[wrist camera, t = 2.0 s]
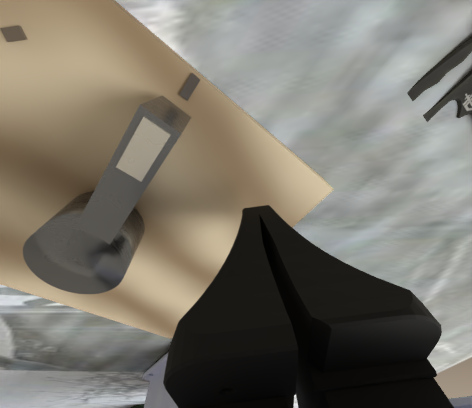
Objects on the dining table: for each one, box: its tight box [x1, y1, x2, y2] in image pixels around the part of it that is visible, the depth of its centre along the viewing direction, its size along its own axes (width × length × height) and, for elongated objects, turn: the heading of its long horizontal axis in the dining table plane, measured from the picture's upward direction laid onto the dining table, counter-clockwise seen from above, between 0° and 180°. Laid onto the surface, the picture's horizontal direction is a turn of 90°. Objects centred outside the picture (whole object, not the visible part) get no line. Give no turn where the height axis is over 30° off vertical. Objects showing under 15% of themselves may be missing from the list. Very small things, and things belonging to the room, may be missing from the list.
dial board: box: [0, 0, 334, 339], centre depth 13 cm, size 18×18×2 cm
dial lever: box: [23, 95, 192, 294], centre depth 10 cm, size 10×4×3 cm, turn 142°
